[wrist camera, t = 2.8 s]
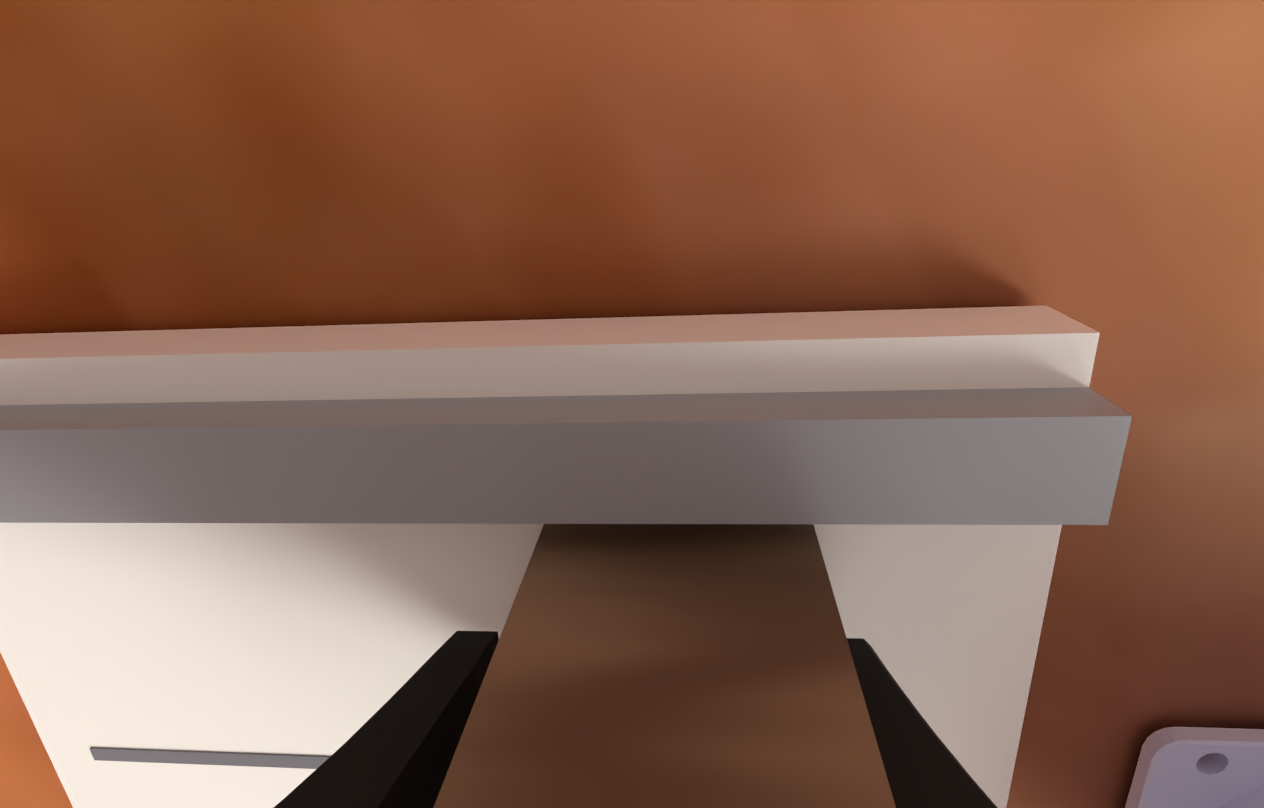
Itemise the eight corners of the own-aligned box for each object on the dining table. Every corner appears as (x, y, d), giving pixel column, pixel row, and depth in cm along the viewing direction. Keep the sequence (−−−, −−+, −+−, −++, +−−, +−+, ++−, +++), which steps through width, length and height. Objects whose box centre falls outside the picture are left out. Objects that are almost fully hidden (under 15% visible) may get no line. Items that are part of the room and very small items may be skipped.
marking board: (1046, 305, 10) (1145, 355, 8) (942, 927, 15) (985, 1068, 13) (-41, 335, 12) (-214, 384, 10) (185, 883, 17) (105, 1000, 15)
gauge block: (812, 518, 10) (942, 969, 5) (801, 725, 12) (893, 1255, 6) (546, 517, 11) (384, 933, 5) (567, 718, 12) (459, 1210, 7)
